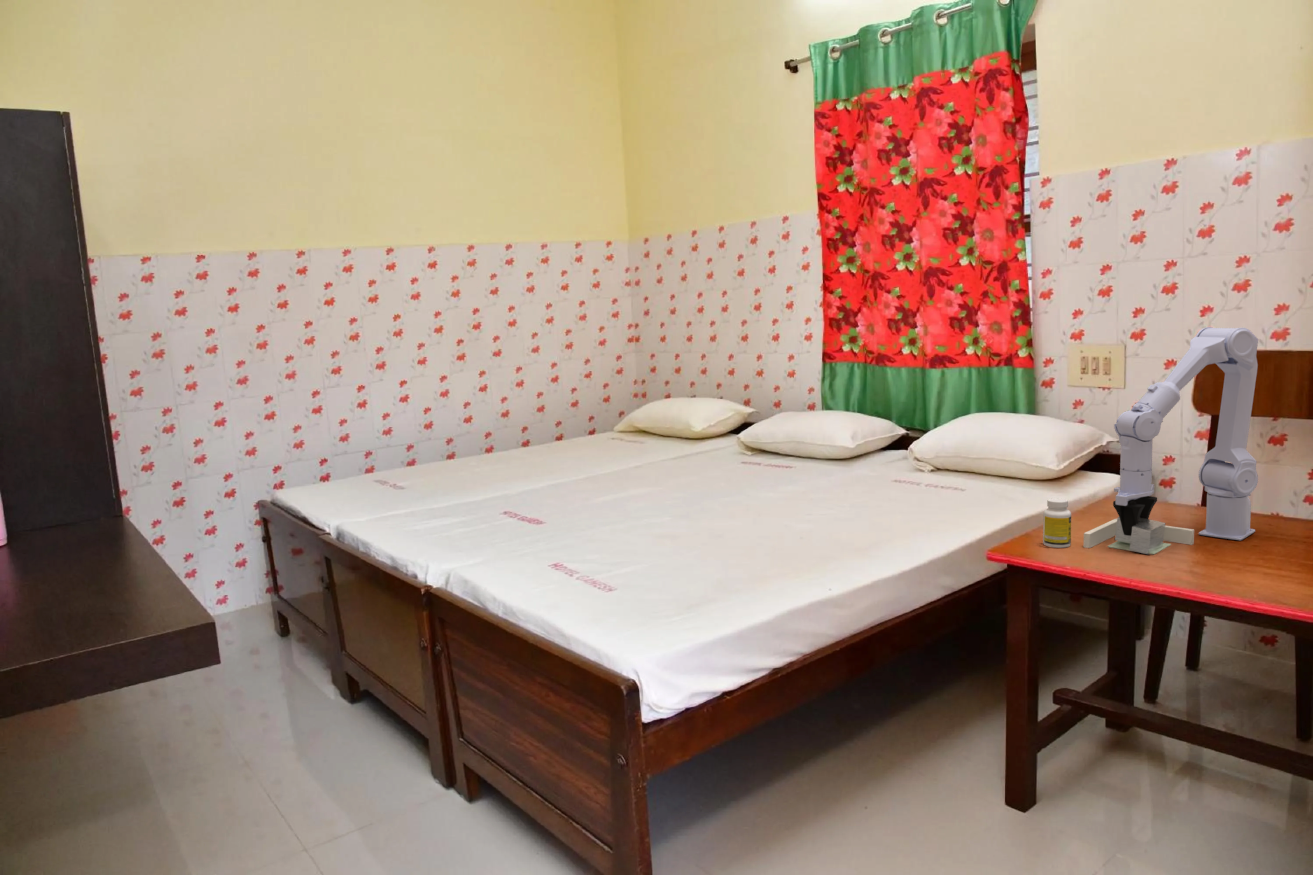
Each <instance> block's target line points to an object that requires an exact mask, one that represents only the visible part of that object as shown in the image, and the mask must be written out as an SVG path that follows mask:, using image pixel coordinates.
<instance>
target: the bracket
mask: <svg viewBox="0 0 1313 875" xmlns="http://www.w3.org/2000/svg"><path fill="white" fill-rule="evenodd" d="M1116 519H1117V526H1116V535H1115V536H1114V541H1116V542H1117V541H1121V542H1125V543H1129V544H1130V550H1132V551H1131V552H1135V551H1136V553H1141V554H1145V555H1151V554H1150V553H1151V552H1153V551H1155V550H1157V549H1158V548H1160V547H1162V546H1163V543H1164V541H1163V538H1164V531H1165V526H1166V522H1162V521H1158V520H1153V519H1150V518H1149V519H1145V518H1141V517H1140V518H1139V522H1138V524H1136V525H1134V526H1132V533H1131V536H1128V535H1124V533H1123V529H1122V525H1121V521H1120V518H1119V516H1117V518H1116Z"/></svg>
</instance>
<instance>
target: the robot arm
mask: <svg viewBox="0 0 1313 875" xmlns="http://www.w3.org/2000/svg"><path fill="white" fill-rule="evenodd" d="M1258 344H1259V338H1258V337H1257V336H1256V335H1255V334H1254V333H1253V332H1252V331H1251V330H1250V329H1249V328H1247V327H1212V326H1205V327H1202V328H1201V329H1200V330H1199V331H1198V332H1197V333H1196V335H1195V336H1194V337H1193V338H1191V339H1190V341H1189V349H1188V350H1187V351H1186V353H1185V354H1184V355H1183V356H1182V357H1181V359H1180V361H1178V363H1177V364H1176V366H1175V367H1174V368H1173V370H1172V371H1171V372H1170V373H1169V375H1168V376H1167V377H1166V378H1165V380H1164V381H1157V382H1155V383H1153V384H1150V385H1149V386H1148V387H1147V391H1146V392H1145V394H1143V396H1142V397H1141V398H1140V399H1139V400H1138V401H1137V402H1136V403H1135V404H1133V406H1132V408H1131V410H1127V411H1124V412H1122V413H1121V414H1120V415H1119V416H1118V417H1117V419H1116V422H1115V424H1113V429H1114V431H1115V433H1116V434H1117V435H1118V443H1119V445H1120V459H1119V460H1120V462H1119V464H1120V465H1119V466H1120V467H1119V468H1120V470H1119V474H1120V475H1119V476H1120V477H1119V486H1116V487H1114V488H1113V492H1116V493H1117V494H1116V495H1115V500H1113V502H1112V506H1113V508H1114V509H1115V511H1116V512H1117V515H1118V517H1119V518H1120V521H1121V525H1122V529H1123V533H1124V535H1128V536H1131V533H1132V526H1134V525H1136V524H1138V522H1139V518H1140V517H1141V518H1145V519H1150V515H1151V512H1152V510H1153V509H1154V506H1155V504H1156V503H1157V501H1158V497H1156V496H1152V495H1153V494H1155V483H1154V484H1153V483H1152V477H1153V476H1152V475H1153V471H1152V470H1153V469H1152V467H1153V441H1154V440H1153V439H1155V438H1156V437H1157V436H1159V433H1160V431H1161V426H1162V423H1163V422H1164V418H1165V417H1166V416H1167V415H1168V413H1170V412H1171V411H1172V410H1173V408H1174V407H1175V406H1176V405H1177V404H1178V403H1179V402H1180V400H1181V394H1180V392H1181V390H1182V389H1184V388H1185V387H1186V386H1187V385H1188V383H1190V382H1191V381H1192V380H1193V379H1194V378H1195V377H1197V375H1199V373H1200V372H1202V370H1203V369H1204V368H1205V367H1206V366H1208V365H1214V364H1215V365H1217V367H1218V368H1219V369H1220V370H1222V371H1223V373H1224V380H1223V388H1222V393H1221V394H1222V395H1221V402H1220V408H1219V409H1220V410H1219V416H1218V424H1217V433H1216V438H1215V446H1214V447H1212V449H1210V450H1209V451H1207V453H1205V455H1204V460H1203V463H1202V464H1201V466H1200V468H1199V471H1198V480H1199V482H1200V484H1201V485H1202V486H1203V487H1204V491H1205V492H1207V493H1206V516H1205V518H1206V519H1205V528H1204V529H1202V530H1201V531H1199V532H1198V535H1199V536H1206V537H1213V538H1219V539H1226V540H1227V539H1228V540H1235V541H1243V540H1244V539H1246V538H1247V537H1249V536H1250V535H1252V534H1254V533H1255V532H1256V529H1254V528H1251V518H1252V516H1251V514H1252V513H1251V512H1252V501H1251V499H1250V498H1249V497H1250V496H1252V495H1251V494H1252V493H1253V492H1254V490H1255V489H1256V488H1257V486H1258V482H1259V475H1258V471H1257V459H1255V457H1254V456H1252V454H1250V452H1249V451H1248V450H1247V447H1248V439H1249V433H1250V432H1249V431H1250V425H1251V417H1252V411H1253V403H1254V396H1255V388H1256V383H1257V382H1256V381H1257V375H1258V368H1259V367H1258V366H1259V364H1258V358H1257V352H1258Z"/></svg>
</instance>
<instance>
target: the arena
mask: <svg viewBox="0 0 1313 875" xmlns="http://www.w3.org/2000/svg"><path fill="white" fill-rule="evenodd" d="M1116 526H1117V518H1114V519H1112V520H1110V521H1107V522H1106V523H1103V524H1101V525H1098V526H1097V527H1094V528H1092V529H1090V530H1088V531H1085V532H1083V548H1085V549H1090V548H1092V547H1094V546H1097V545H1099V544H1100V543H1103V542H1105V541H1107V540H1109V539H1111V538H1113V537H1115V535H1116ZM1163 542H1168V543H1169V542H1170V543H1178V544H1184V545H1190V546H1193V545H1194V544H1195V529H1193V528H1187V527H1186V528H1185V527H1179V526H1170V525H1165V531H1164V538H1163Z"/></svg>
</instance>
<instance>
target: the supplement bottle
mask: <svg viewBox="0 0 1313 875" xmlns="http://www.w3.org/2000/svg"><path fill="white" fill-rule="evenodd" d="M1046 507H1048V508H1045V510H1044V511H1043V515H1042V516H1043V519H1042V522H1043V523H1042V524H1043V527H1042V543H1043V545H1044V546H1046V547H1050V548H1054V549H1055V548H1057V549H1058V548H1059V549H1060V548H1063V549H1064V548H1069V547H1070V546H1071V543H1072V542H1071V541H1072V512H1071V510H1069V509H1067V508H1068V507H1069V499H1066V498H1059V497H1054V498H1053V497H1052V498H1047V502H1046Z"/></svg>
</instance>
